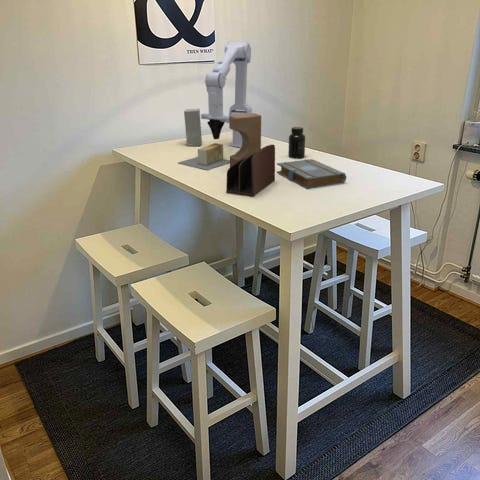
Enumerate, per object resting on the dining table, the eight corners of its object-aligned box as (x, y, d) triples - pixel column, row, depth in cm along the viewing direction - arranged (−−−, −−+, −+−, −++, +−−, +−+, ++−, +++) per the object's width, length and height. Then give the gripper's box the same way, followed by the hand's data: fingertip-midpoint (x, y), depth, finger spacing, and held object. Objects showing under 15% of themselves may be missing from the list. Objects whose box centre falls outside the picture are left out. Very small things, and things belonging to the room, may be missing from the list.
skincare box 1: (200, 146, 219) (199, 110, 212) (185, 146, 219) (183, 110, 213) (202, 142, 227) (201, 107, 220) (187, 142, 227) (185, 107, 220)
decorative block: (235, 171, 182) (235, 117, 174) (229, 167, 187) (228, 115, 179) (261, 167, 187) (262, 115, 179) (254, 164, 192) (254, 113, 183)
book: (345, 184, 170) (347, 170, 168) (305, 190, 163) (306, 176, 161) (313, 169, 187) (313, 156, 185) (275, 174, 181) (276, 161, 179)
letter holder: (275, 181, 172) (276, 141, 166) (253, 197, 156) (254, 154, 150) (249, 177, 176) (249, 139, 170) (225, 193, 159) (225, 151, 154)
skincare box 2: (224, 158, 198) (207, 166, 188) (215, 157, 200) (198, 165, 190) (223, 143, 195) (206, 150, 186) (214, 142, 197) (197, 149, 188)
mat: (204, 155, 204) (204, 154, 204) (233, 161, 195) (233, 161, 195) (177, 163, 193) (177, 162, 193) (206, 170, 184) (206, 169, 183)
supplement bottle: (304, 154, 205) (305, 126, 200) (304, 158, 199) (306, 129, 194) (288, 154, 206) (289, 126, 201) (288, 158, 200) (289, 129, 195)
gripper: (195, 103, 191) (196, 138, 196) (222, 107, 182) (223, 143, 188) (207, 101, 196) (208, 135, 201) (234, 105, 187) (235, 140, 193)
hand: (216, 138), depth 195 cm, fingers closed
